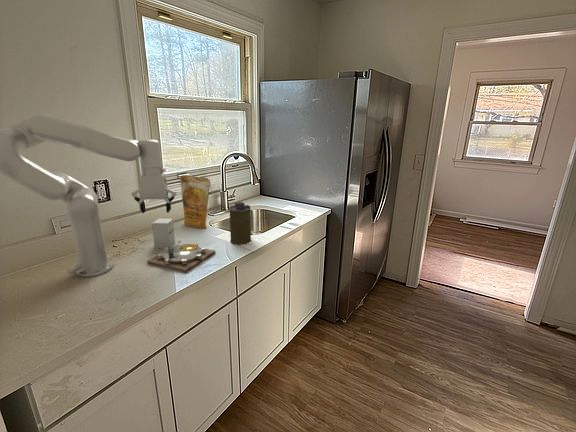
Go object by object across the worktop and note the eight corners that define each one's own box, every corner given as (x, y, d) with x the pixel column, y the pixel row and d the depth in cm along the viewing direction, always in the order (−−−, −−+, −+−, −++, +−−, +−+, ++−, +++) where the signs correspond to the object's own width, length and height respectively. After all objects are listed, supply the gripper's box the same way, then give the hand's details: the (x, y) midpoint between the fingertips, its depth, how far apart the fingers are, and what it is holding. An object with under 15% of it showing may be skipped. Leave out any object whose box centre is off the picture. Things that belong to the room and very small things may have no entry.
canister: (239, 246, 146) (238, 206, 140) (226, 241, 153) (224, 202, 147) (256, 240, 154) (255, 202, 148) (243, 235, 161) (242, 198, 155)
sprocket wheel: (185, 268, 121) (184, 254, 119) (148, 259, 127) (146, 246, 126) (214, 250, 138) (213, 237, 136) (179, 243, 145) (178, 231, 143)
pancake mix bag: (188, 221, 181) (184, 174, 173) (213, 226, 173) (210, 177, 165) (179, 224, 175) (175, 175, 167) (205, 230, 167) (202, 179, 159)
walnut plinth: (186, 273, 121) (185, 265, 120) (147, 263, 128) (146, 256, 127) (215, 253, 139) (215, 246, 138) (179, 246, 146) (179, 239, 144)
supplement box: (170, 249, 143) (167, 223, 139) (154, 248, 143) (151, 223, 139) (175, 242, 150) (173, 218, 146) (160, 242, 150) (158, 218, 146)
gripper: (176, 169, 128) (179, 209, 133) (131, 169, 125) (136, 210, 130) (172, 172, 121) (176, 214, 126) (125, 172, 118) (131, 215, 123)
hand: (156, 212), depth 128 cm, fingers open, 9 cm apart
